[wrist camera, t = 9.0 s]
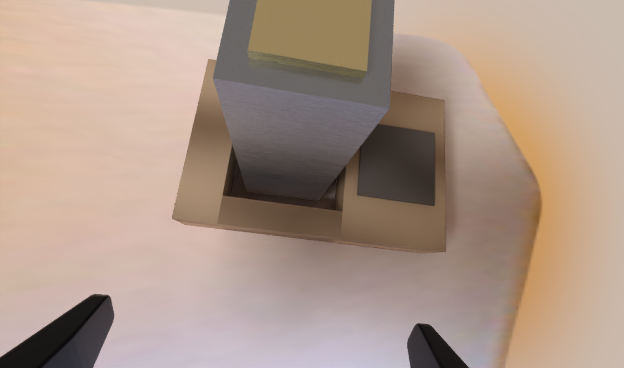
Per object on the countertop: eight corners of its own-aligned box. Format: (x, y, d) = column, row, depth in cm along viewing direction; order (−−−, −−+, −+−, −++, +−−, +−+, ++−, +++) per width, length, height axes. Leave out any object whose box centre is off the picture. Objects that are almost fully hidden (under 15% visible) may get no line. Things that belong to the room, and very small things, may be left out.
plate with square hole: (424, 253, 20) (447, 251, 17) (184, 224, 18) (170, 217, 15) (425, 118, 22) (445, 98, 19) (215, 83, 21) (207, 56, 18)
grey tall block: (318, 201, 19) (394, 102, 8) (246, 191, 19) (210, 70, 7) (324, 135, 21) (399, -37, 9) (257, 125, 20) (242, -71, 8)
